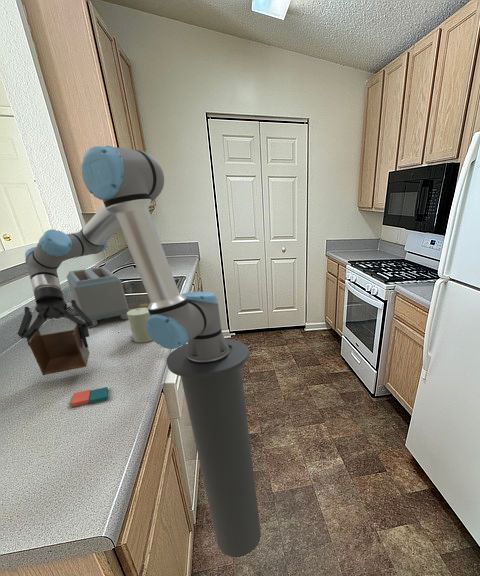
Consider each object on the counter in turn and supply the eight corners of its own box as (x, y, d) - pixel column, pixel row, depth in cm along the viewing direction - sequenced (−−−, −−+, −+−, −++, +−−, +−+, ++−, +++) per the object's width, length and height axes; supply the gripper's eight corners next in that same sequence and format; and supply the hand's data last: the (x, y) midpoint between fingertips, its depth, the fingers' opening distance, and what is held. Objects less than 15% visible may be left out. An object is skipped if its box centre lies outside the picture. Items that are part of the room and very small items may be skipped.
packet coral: (88, 399, 94) (89, 403, 95) (90, 389, 99) (91, 392, 100) (70, 403, 93) (72, 407, 93) (73, 393, 98) (74, 396, 98)
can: (154, 331, 142) (148, 304, 136) (160, 338, 135) (154, 310, 130) (131, 337, 137) (123, 309, 132) (136, 344, 131) (128, 315, 125)
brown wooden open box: (89, 352, 113) (78, 322, 108) (86, 366, 104) (74, 334, 99) (49, 360, 109) (36, 329, 104) (43, 375, 100) (28, 342, 95)
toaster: (116, 302, 181) (105, 264, 171) (132, 319, 157) (120, 275, 148) (77, 310, 171) (63, 270, 161) (87, 328, 147) (72, 283, 138)
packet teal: (106, 396, 96) (107, 399, 96) (107, 386, 100) (108, 390, 101) (89, 400, 94) (90, 404, 95) (90, 390, 99) (92, 393, 99)
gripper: (92, 292, 117) (107, 346, 113) (6, 304, 106) (19, 364, 102) (88, 280, 111) (104, 337, 106) (-5, 291, 100) (8, 356, 95)
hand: (62, 350), depth 104 cm, fingers closed on brown wooden open box, 12 cm apart
